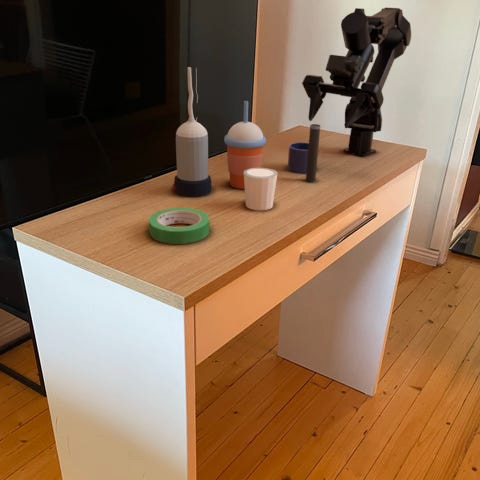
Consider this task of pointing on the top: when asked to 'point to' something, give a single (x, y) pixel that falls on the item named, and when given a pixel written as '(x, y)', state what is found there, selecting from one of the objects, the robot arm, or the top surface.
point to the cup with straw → (243, 149)
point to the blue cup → (298, 157)
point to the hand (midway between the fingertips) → (327, 122)
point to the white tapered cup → (259, 188)
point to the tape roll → (179, 234)
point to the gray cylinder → (312, 152)
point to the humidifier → (192, 154)
